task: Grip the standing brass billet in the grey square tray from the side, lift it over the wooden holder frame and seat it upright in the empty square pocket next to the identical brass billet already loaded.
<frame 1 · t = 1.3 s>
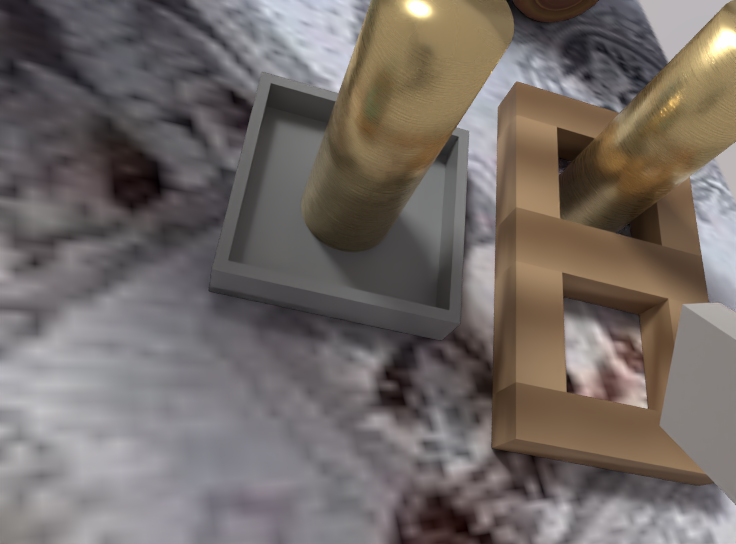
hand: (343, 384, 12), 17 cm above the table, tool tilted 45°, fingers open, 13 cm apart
wooden holder frame: (588, 276, 37), on the table
billet: (347, 210, 34), point 1 cm above the table, touching grey square tray
grey square tray: (344, 215, 34), on the table
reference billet: (584, 205, 39), resting in wooden holder frame
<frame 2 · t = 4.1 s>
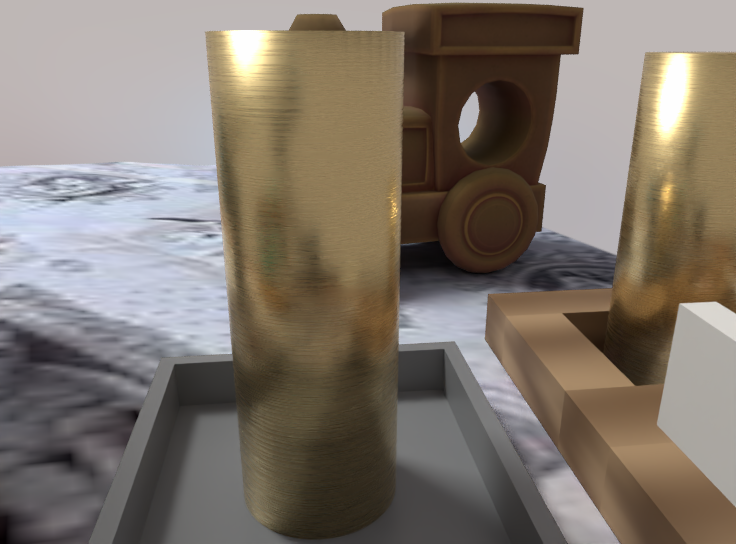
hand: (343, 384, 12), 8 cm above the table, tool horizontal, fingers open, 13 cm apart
wooden holder frame: (735, 464, 23), on the table
billet: (320, 483, 21), point 1 cm above the table, touching grey square tray
wooden toy train: (396, 261, 44), on the table
grey square tray: (320, 498, 21), on the table
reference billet: (659, 392, 27), resting in wooden holder frame
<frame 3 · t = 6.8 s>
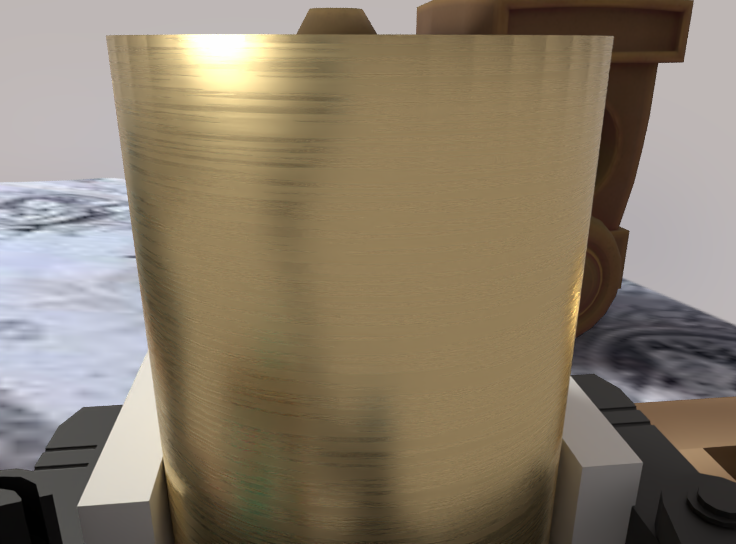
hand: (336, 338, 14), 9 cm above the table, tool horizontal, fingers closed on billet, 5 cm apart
wooden toy train: (432, 322, 35), on the table
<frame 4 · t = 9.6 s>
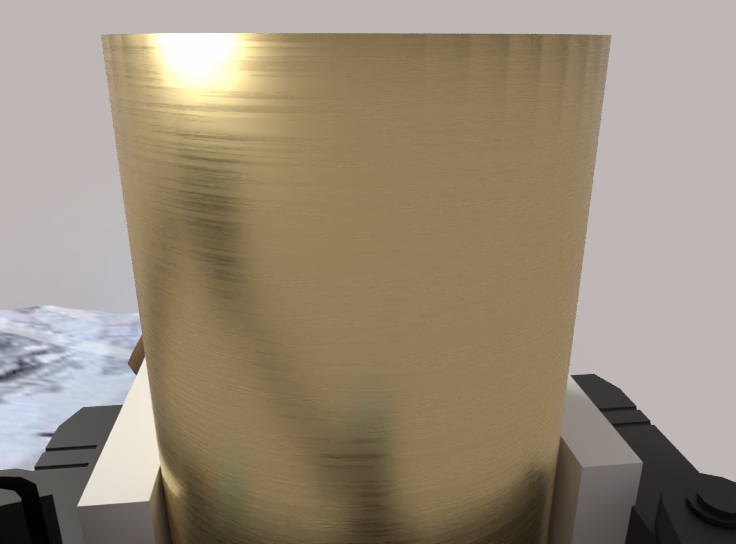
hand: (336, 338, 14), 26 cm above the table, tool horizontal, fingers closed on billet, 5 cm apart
wooden toy train: (268, 526, 44), on the table
when the fingers open (9 cm above the table, at t = 12.5 s): billet drops 1 cm, resting in wooden holder frame.
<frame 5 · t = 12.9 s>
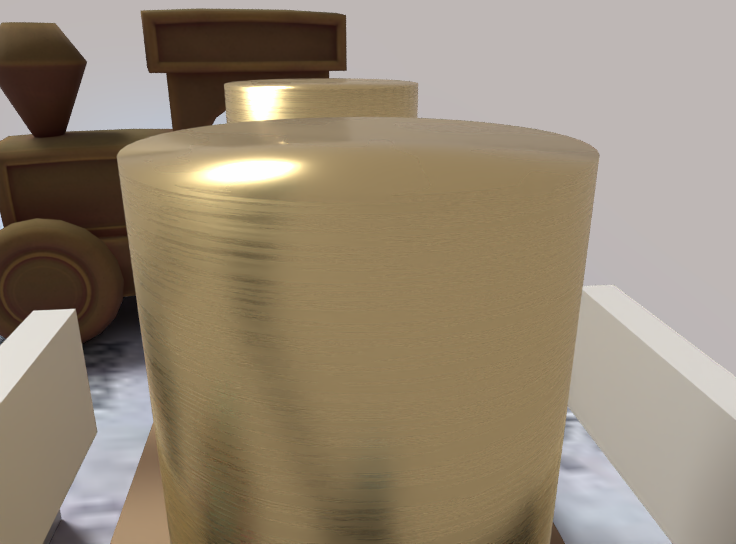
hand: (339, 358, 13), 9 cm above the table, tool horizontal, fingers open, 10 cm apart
wooden toy train: (174, 308, 38), on the table
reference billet: (332, 516, 21), resting in wooden holder frame
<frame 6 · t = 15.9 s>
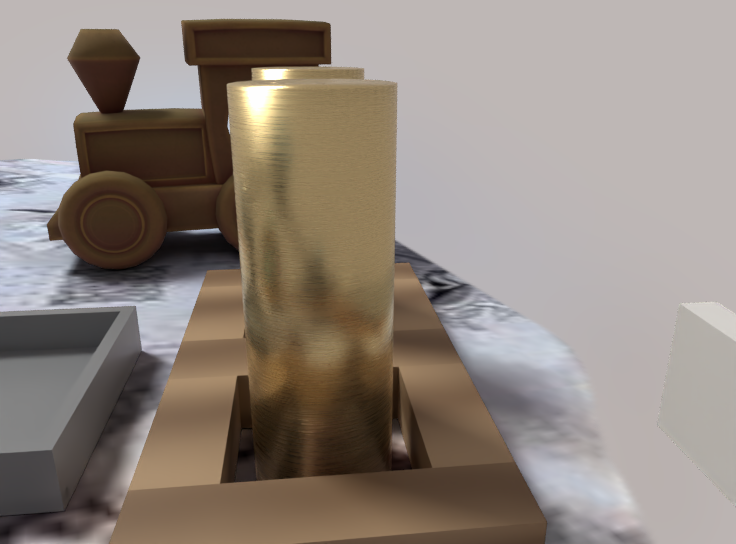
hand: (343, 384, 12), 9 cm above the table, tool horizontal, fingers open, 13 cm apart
wooden holder frame: (318, 401, 28), on the table
billet: (324, 474, 23), resting in wooden holder frame
wooden toy train: (201, 246, 50), on the table
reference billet: (315, 349, 33), resting in wooden holder frame
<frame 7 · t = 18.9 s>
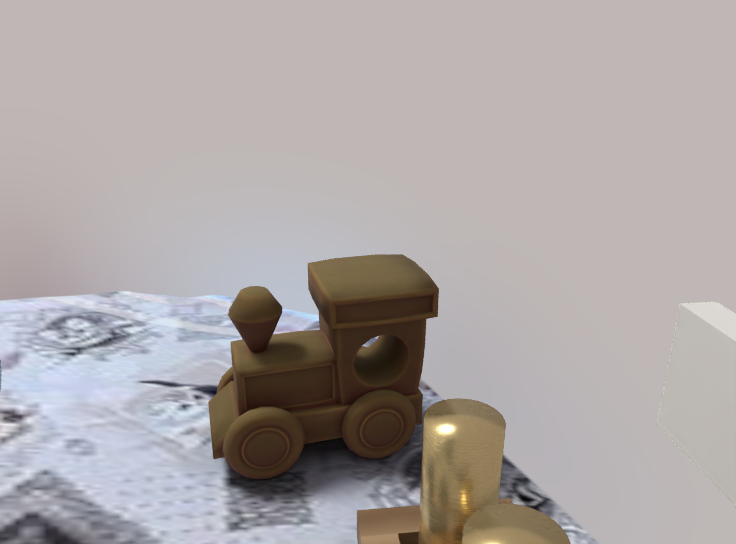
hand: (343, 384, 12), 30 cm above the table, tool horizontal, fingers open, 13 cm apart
wooden toy train: (319, 439, 61), on the table
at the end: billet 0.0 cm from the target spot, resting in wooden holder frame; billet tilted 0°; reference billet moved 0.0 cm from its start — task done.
